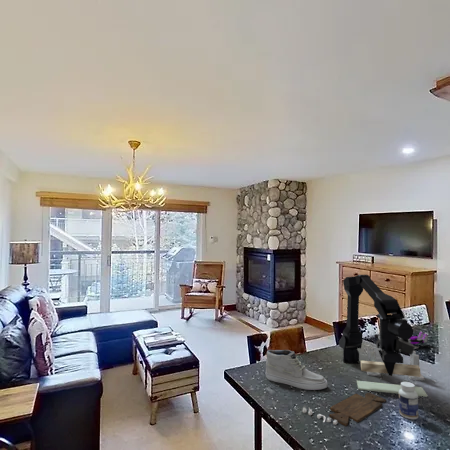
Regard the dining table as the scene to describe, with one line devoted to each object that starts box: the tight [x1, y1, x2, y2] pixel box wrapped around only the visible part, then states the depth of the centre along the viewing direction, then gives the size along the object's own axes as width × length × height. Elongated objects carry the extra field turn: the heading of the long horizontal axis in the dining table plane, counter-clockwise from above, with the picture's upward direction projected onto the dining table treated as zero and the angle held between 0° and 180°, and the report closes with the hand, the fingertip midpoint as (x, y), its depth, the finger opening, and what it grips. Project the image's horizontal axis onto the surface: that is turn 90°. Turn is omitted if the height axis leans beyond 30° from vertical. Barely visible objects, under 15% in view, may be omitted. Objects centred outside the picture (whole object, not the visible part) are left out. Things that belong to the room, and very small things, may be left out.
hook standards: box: [366, 347, 426, 382], centre depth 137 cm, size 21×7×10 cm, turn 73°
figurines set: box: [302, 406, 339, 426], centre depth 104 cm, size 12×3×3 cm, turn 48°
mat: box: [356, 380, 428, 398], centre depth 123 cm, size 23×7×1 cm, turn 73°
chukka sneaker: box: [265, 349, 328, 391], centre depth 130 cm, size 9×25×12 cm, turn 63°
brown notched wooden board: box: [328, 392, 387, 427], centre depth 110 cm, size 26×2×10 cm
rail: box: [360, 359, 422, 377], centre depth 124 cm, size 20×3×3 cm, turn 73°
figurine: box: [374, 331, 429, 356], centre depth 172 cm, size 24×7×29 cm
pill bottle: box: [398, 381, 419, 420], centre depth 105 cm, size 5×5×10 cm
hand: (389, 373), depth 124 cm, fingers closed on rail, 3 cm apart
